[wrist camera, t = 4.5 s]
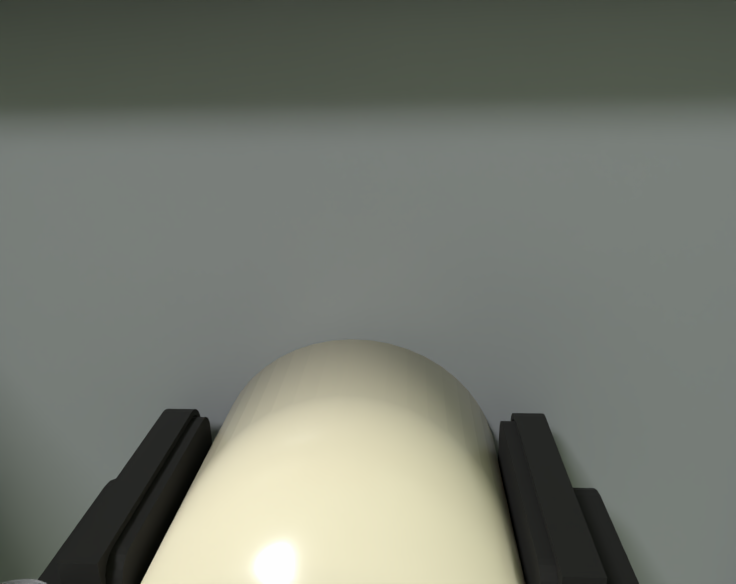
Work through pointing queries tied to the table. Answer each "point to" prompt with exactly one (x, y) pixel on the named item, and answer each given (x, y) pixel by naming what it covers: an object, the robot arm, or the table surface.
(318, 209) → the tray
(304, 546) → the egg
